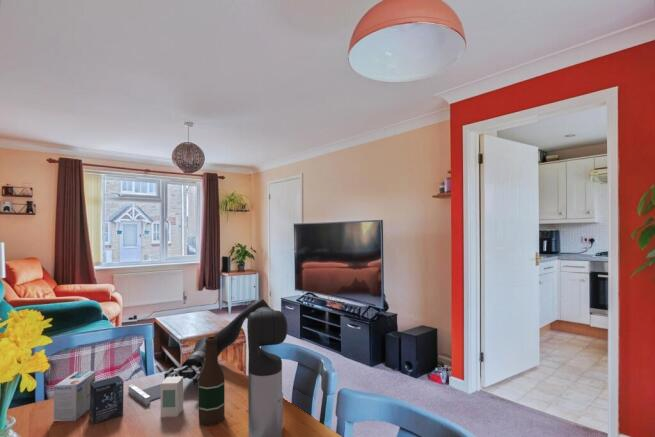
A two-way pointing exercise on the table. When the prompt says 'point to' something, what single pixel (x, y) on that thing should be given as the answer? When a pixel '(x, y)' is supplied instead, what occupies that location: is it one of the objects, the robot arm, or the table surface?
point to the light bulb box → (73, 396)
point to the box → (106, 399)
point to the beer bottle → (211, 387)
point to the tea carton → (171, 396)
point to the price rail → (139, 395)
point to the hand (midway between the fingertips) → (180, 382)
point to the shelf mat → (153, 392)
